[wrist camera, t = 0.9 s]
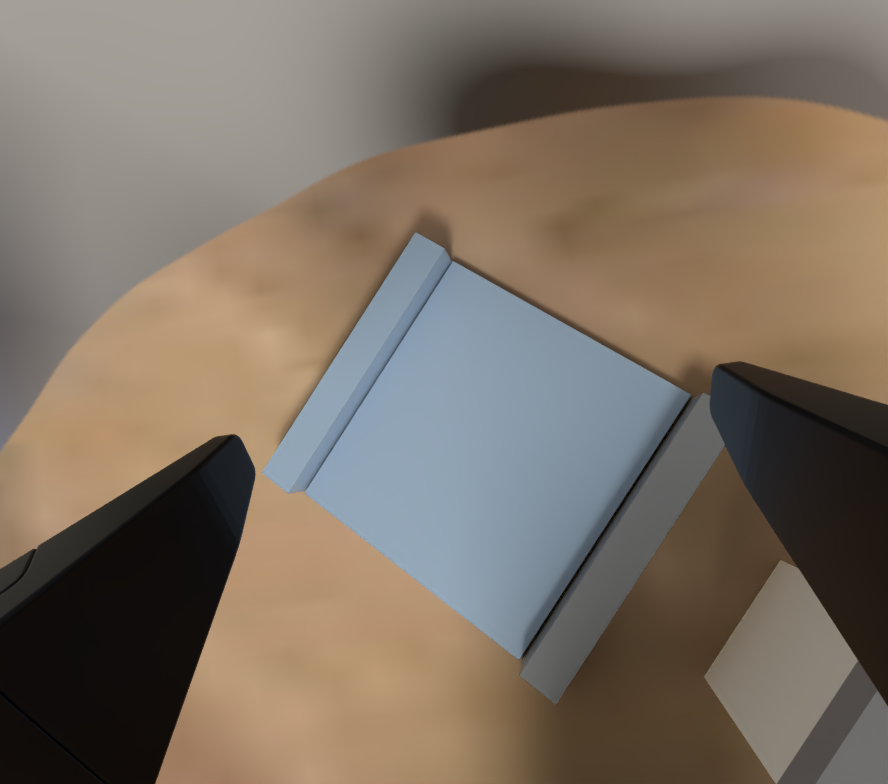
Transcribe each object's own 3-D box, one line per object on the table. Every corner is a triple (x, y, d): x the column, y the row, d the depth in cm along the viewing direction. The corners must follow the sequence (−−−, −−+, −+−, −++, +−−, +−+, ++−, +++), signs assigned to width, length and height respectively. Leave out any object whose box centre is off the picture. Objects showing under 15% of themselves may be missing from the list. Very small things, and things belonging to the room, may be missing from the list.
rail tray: (1124, 640, 15) (1184, 659, 14) (910, 960, 15) (947, 1013, 14) (424, 246, 22) (415, 232, 21) (280, 471, 22) (261, 472, 21)
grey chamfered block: (881, 622, 17) (1103, 736, 10) (801, 745, 17) (966, 941, 10) (780, 559, 18) (920, 624, 11) (703, 676, 18) (795, 813, 11)
